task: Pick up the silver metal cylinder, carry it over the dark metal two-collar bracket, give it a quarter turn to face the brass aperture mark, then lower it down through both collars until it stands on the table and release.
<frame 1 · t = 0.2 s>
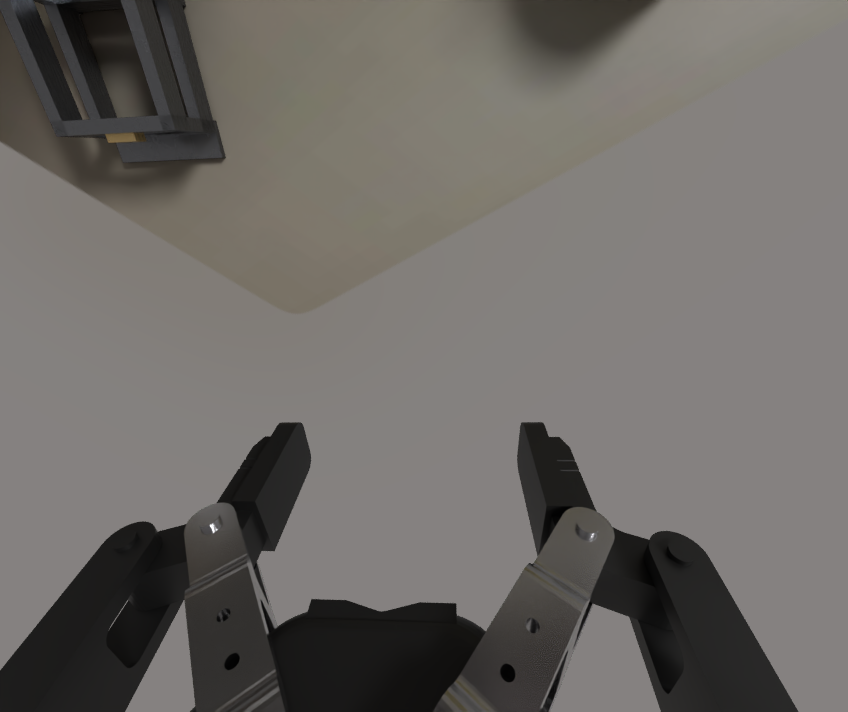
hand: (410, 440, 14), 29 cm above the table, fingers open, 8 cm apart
collar bracket: (147, 70, 33), on the table
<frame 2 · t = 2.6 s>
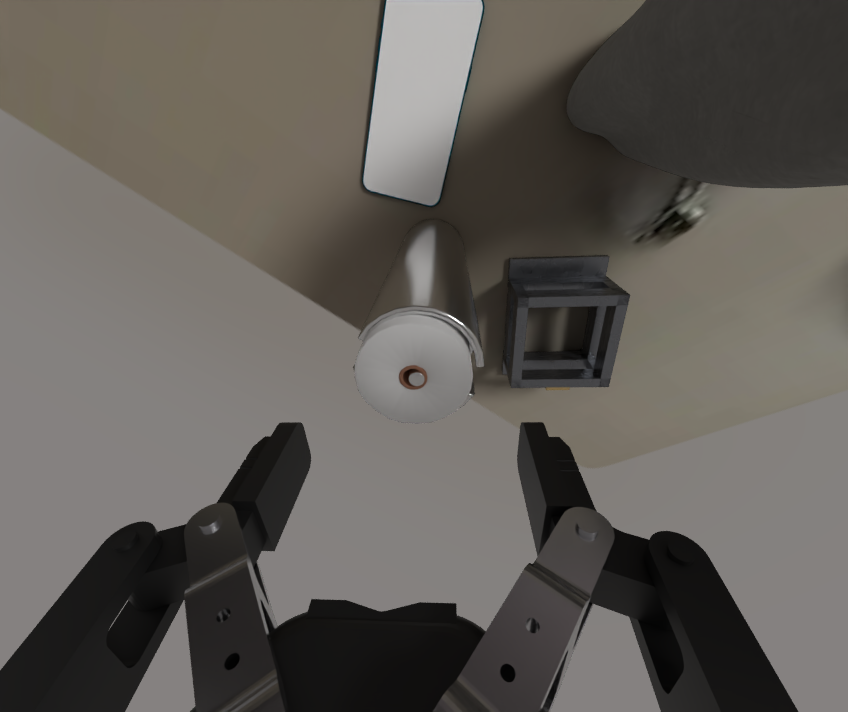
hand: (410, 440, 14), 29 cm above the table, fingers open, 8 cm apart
collar bracket: (549, 318, 42), on the table
vase: (625, 90, 32), on the table
silver metal cylinder: (433, 250, 39), on the table
smartphone: (417, 104, 33), on the table
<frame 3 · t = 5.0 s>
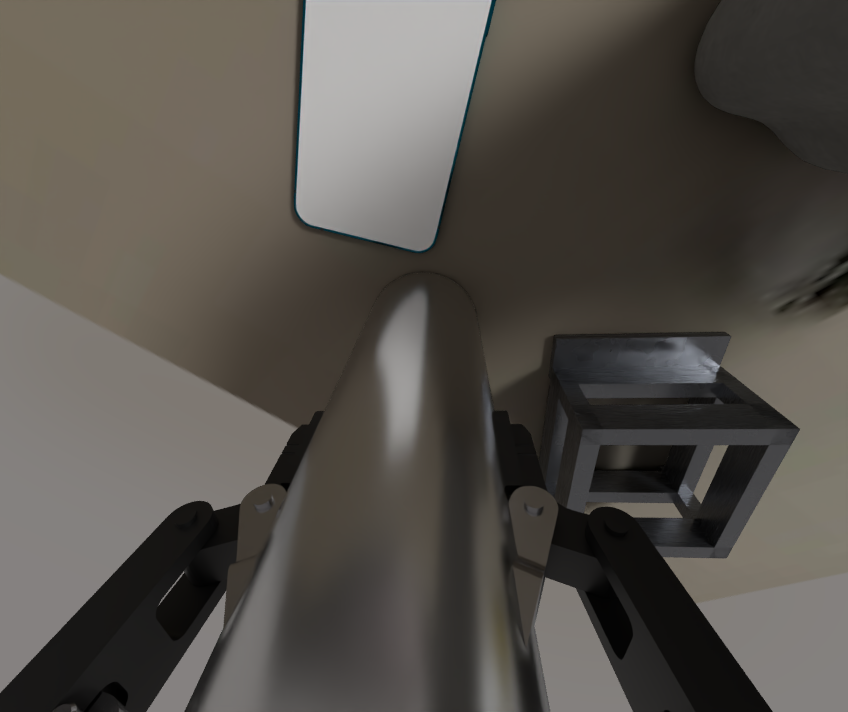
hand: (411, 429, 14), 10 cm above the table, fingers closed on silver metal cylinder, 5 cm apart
collar bracket: (614, 423, 26), on the table
vase: (810, 30, 16), on the table
silver metal cylinder: (424, 321, 23), on the table, touching gripper
smartphone: (392, 64, 17), on the table
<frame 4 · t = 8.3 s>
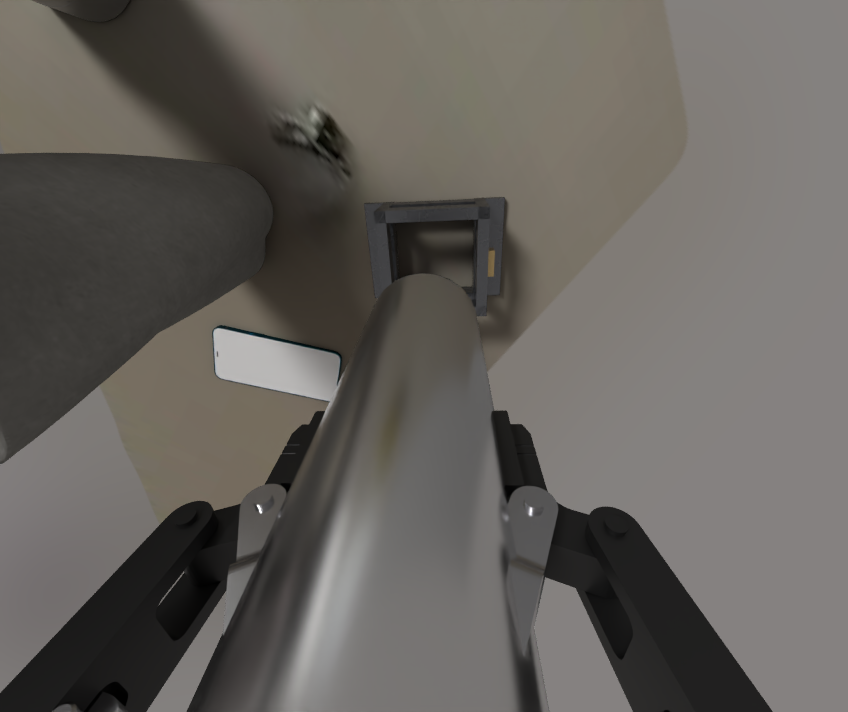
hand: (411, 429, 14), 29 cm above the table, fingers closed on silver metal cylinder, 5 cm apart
collar bracket: (435, 250, 40), on the table
vase: (237, 218, 40), on the table
silver metal cylinder: (424, 322, 23), point 19 cm above the table, touching gripper
smartphone: (279, 362, 49), on the table
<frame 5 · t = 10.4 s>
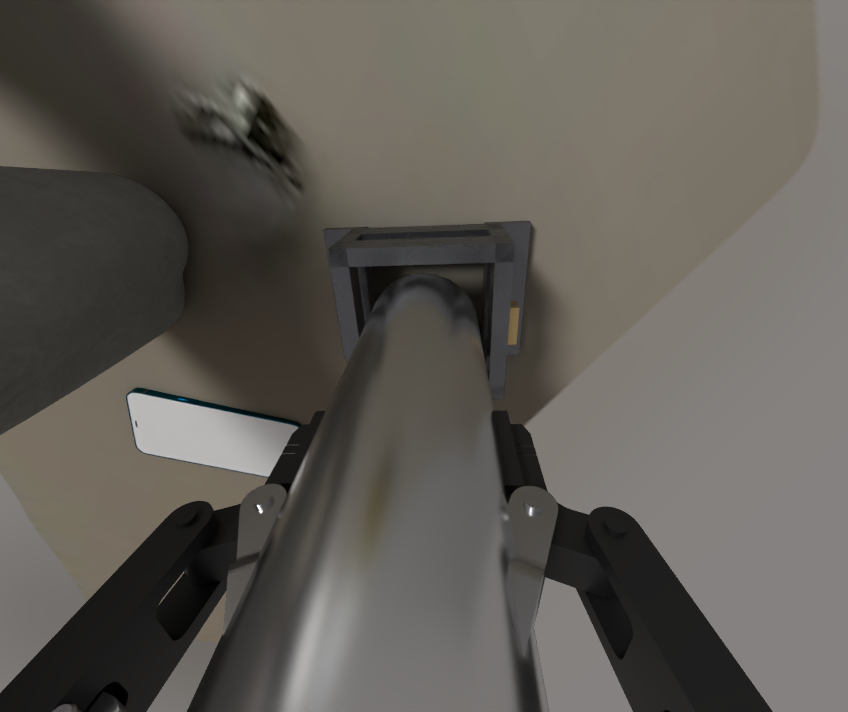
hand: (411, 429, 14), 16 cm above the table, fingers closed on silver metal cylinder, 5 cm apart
collar bracket: (428, 294, 28), on the table
vase: (143, 248, 28), on the table
silver metal cylinder: (424, 322, 23), point 5 cm above the table, touching gripper
smartphone: (223, 432, 36), on the table
when the fingers open (11 cm above the table, at t = 12.2 s): silver metal cylinder stays where it is, resting in collar bracket.
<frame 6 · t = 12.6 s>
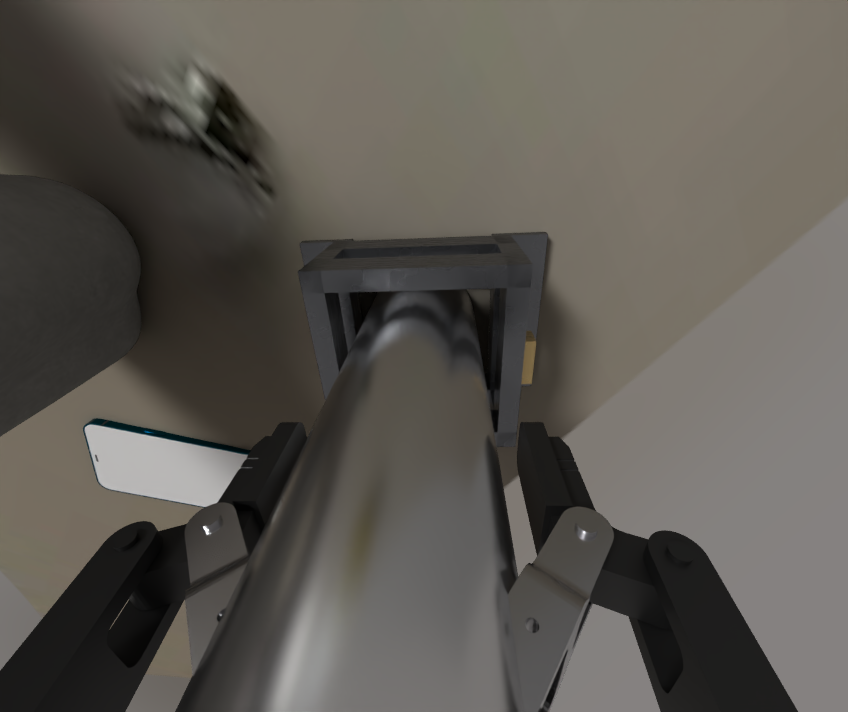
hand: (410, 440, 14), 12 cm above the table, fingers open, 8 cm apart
collar bracket: (425, 316, 24), on the table
vase: (91, 264, 23), on the table
silver metal cylinder: (423, 315, 24), resting in collar bracket
smartphone: (196, 466, 32), on the table
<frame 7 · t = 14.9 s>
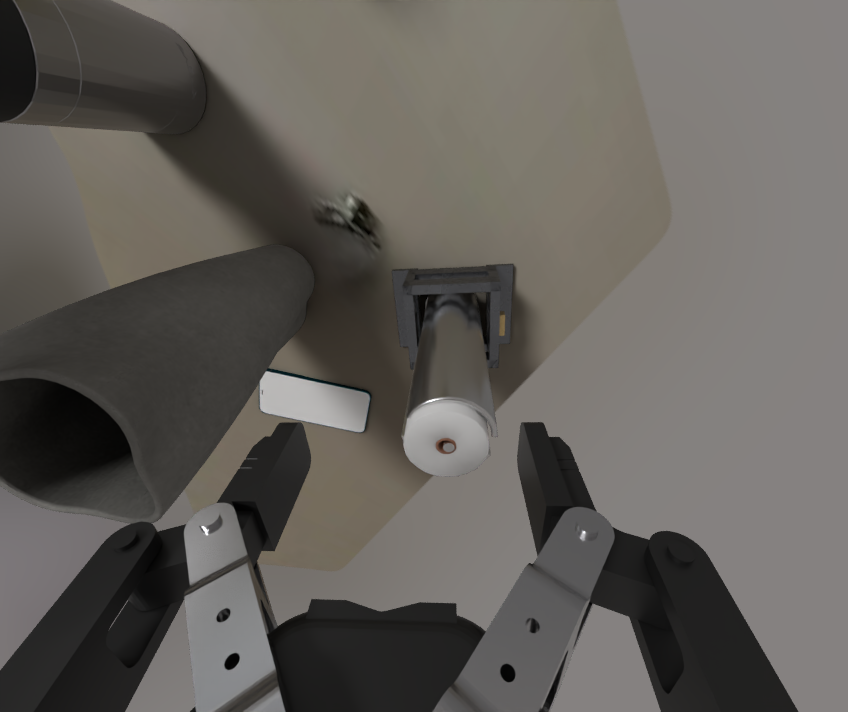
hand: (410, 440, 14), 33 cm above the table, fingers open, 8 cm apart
collar bracket: (453, 306, 46), on the table
vase: (282, 282, 46), on the table
silver metal cylinder: (451, 306, 46), resting in collar bracket
smartphone: (316, 398, 55), on the table
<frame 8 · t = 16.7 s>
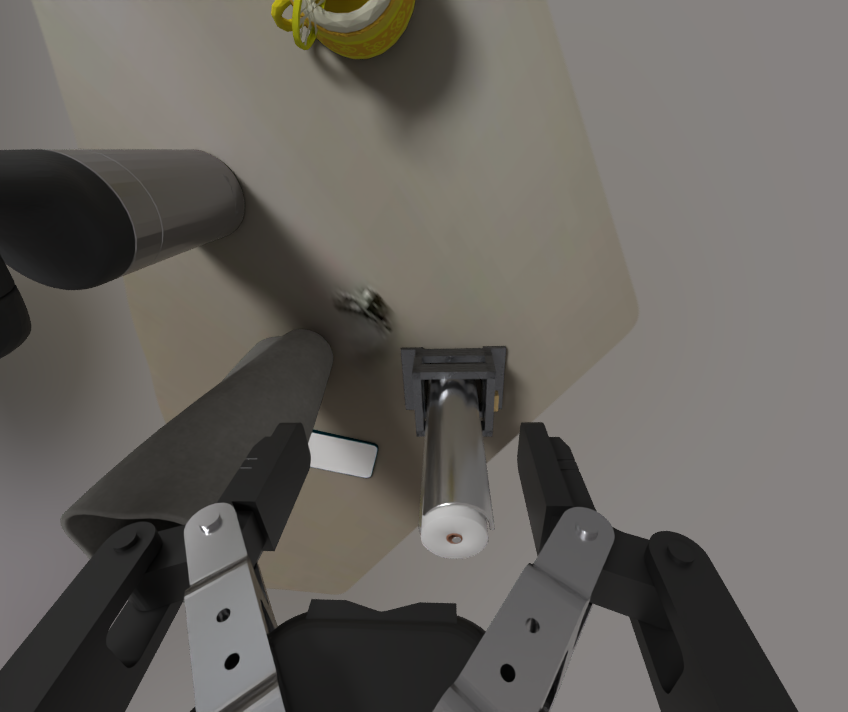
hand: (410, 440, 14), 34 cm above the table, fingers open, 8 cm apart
collar bracket: (453, 378, 52), on the table
vase: (303, 355, 52), on the table
silver metal cylinder: (452, 377, 53), resting in collar bracket
smartphone: (328, 448, 61), on the table
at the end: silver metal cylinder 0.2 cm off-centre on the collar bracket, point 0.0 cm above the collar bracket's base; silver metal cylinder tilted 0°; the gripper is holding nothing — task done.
